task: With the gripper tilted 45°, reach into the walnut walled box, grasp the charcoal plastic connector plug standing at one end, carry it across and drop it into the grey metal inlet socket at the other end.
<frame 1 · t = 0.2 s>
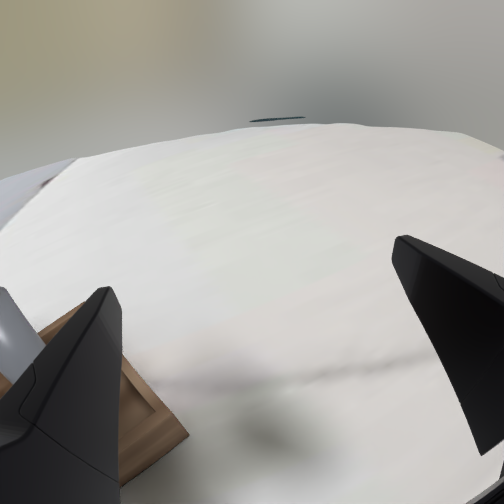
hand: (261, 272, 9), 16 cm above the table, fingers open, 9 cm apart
box: (45, 443, 18), on the table
connector: (80, 414, 21), resting on box
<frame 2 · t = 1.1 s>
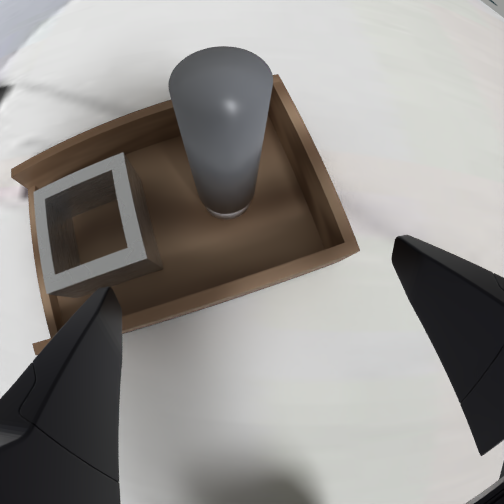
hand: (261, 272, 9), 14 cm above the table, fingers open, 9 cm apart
inlet: (106, 237, 22), resting on box
box: (166, 218, 23), on the table
connector: (226, 196, 23), point 1 cm above the table, touching box
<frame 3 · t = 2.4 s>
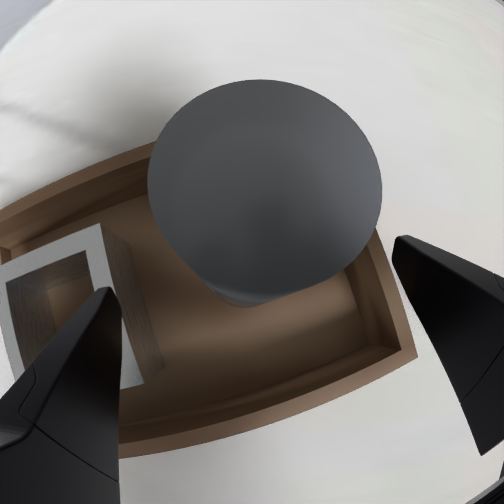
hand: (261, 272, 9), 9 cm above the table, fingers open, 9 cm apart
inlet: (91, 321, 17), resting on box
box: (165, 299, 18), on the table
connector: (244, 272, 18), point 1 cm above the table, touching box
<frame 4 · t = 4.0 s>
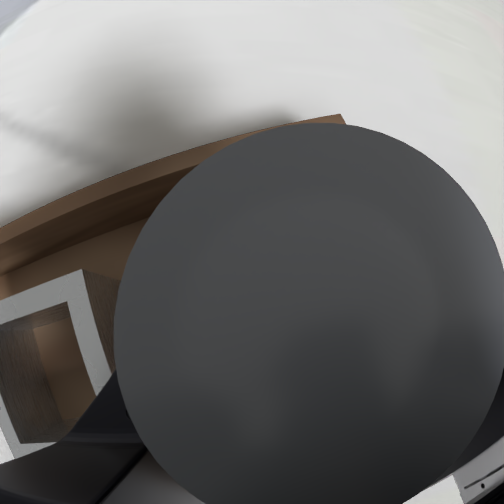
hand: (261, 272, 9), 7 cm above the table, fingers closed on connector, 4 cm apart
inlet: (82, 366, 14), resting on box
box: (164, 344, 15), on the table
connector: (255, 316, 15), resting on box, touching gripper
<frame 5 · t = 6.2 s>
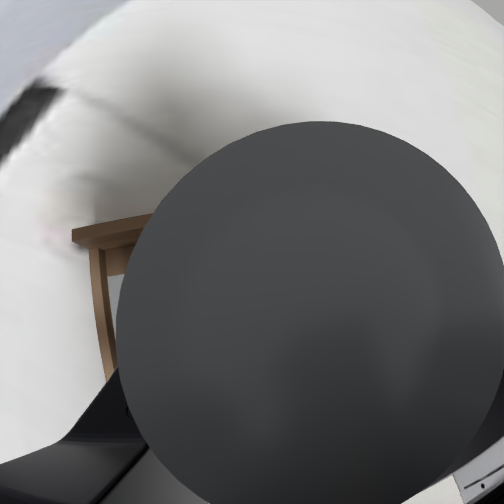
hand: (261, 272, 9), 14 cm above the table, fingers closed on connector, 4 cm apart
inlet: (187, 328, 21), resting on box
box: (255, 318, 22), on the table
connector: (255, 315, 15), point 7 cm above the table, touching gripper
when the fingers open (8 cm above the table, at t = 8.4 s): connector stays where it is, resting on box.
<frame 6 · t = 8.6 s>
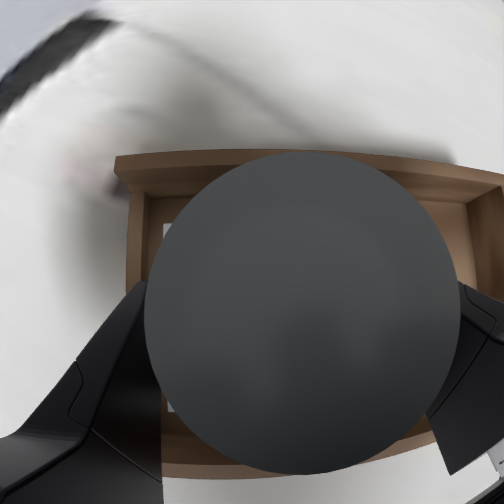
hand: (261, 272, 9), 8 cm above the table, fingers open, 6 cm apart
box: (340, 310, 17), on the table
connector: (254, 316, 16), point 1 cm above the table, touching box
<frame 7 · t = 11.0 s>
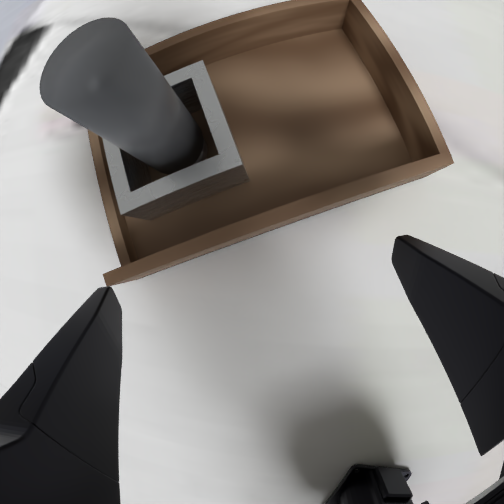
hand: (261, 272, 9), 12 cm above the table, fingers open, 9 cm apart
inlet: (182, 152, 21), resting on box
box: (248, 130, 21), on the table
connector: (182, 152, 21), point 1 cm above the table, touching box
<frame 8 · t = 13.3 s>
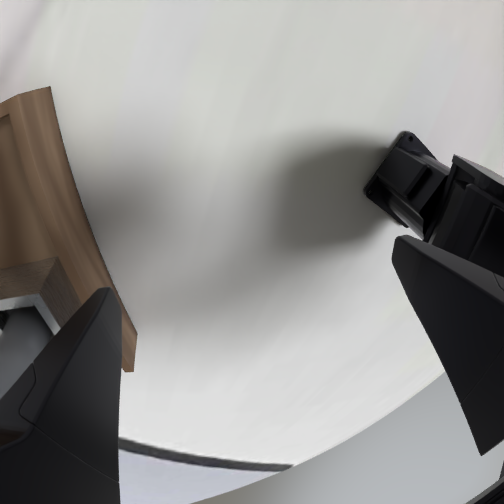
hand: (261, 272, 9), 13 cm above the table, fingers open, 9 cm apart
inlet: (43, 297, 23), resting on box
box: (21, 249, 21), on the table
connector: (43, 297, 23), point 1 cm above the table, touching box
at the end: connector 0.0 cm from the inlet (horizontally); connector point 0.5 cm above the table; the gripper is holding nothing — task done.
